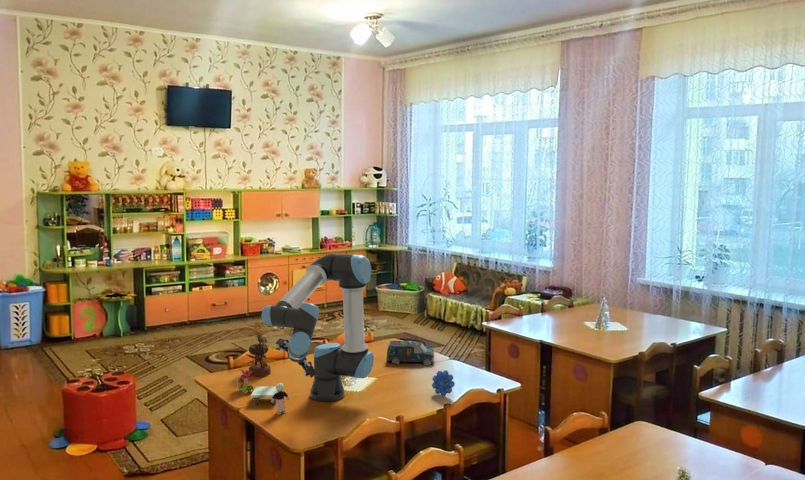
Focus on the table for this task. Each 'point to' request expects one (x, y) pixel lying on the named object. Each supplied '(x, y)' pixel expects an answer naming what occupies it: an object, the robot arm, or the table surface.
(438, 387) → the blue bumpy round piece
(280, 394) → the grandmother figurine
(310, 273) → the robot arm
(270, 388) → the miniature table
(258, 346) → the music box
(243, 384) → the flower ornament
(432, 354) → the toy van
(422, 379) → the table surface
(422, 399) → the table surface
